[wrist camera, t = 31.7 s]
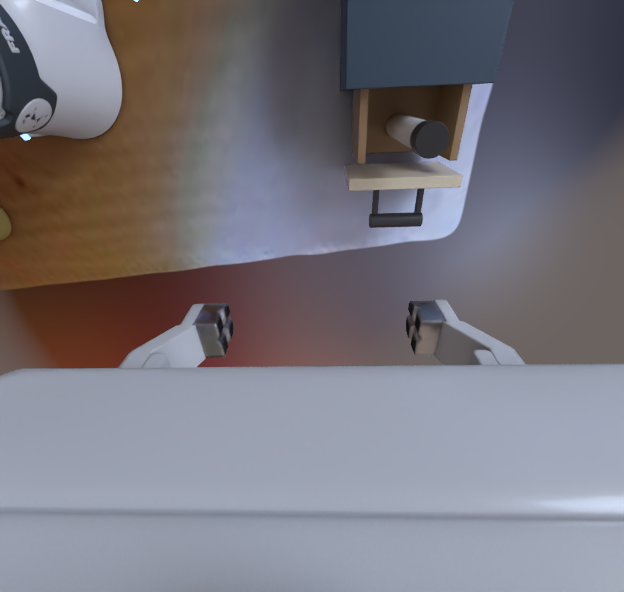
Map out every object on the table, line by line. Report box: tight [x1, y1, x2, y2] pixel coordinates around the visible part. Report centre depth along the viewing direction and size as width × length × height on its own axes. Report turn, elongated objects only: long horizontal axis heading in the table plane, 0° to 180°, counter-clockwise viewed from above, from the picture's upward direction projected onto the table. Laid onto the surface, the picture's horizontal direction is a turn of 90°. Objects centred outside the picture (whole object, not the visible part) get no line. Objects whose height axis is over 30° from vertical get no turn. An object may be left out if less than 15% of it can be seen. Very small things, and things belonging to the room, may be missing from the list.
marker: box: [386, 114, 449, 159], centre depth 29 cm, size 3×3×14 cm
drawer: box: [344, 84, 472, 228], centre depth 33 cm, size 19×12×8 cm, turn 2°
